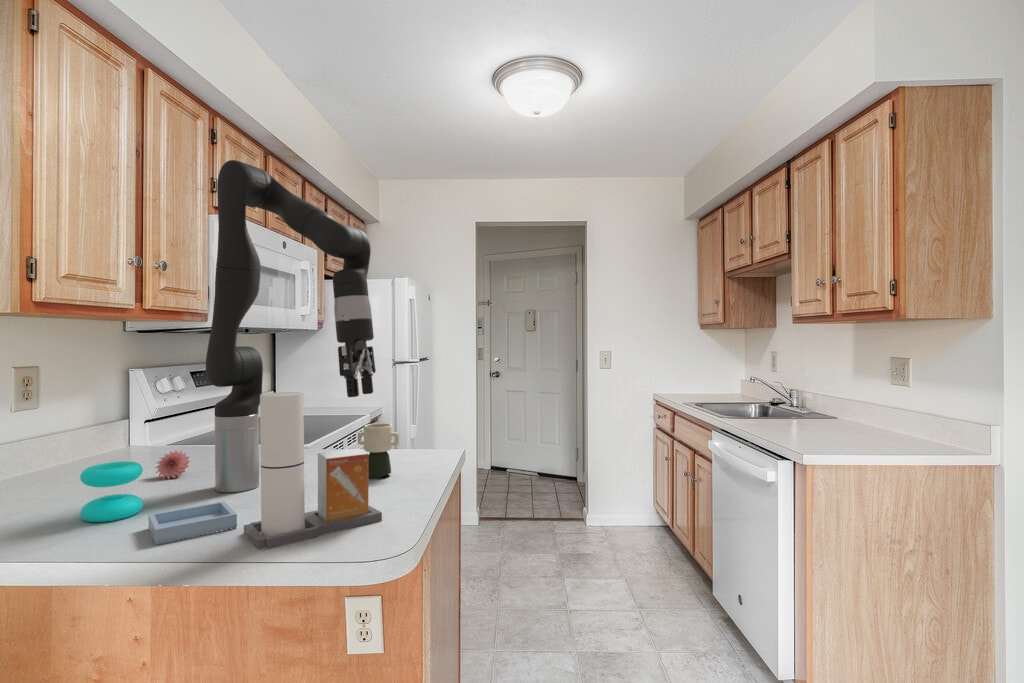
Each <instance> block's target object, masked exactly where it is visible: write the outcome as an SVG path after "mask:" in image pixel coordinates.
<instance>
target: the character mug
mask: <svg viewBox="0 0 1024 683" xmlns="http://www.w3.org/2000/svg"><path fill="white" fill-rule="evenodd" d="M362 436H363V440H362ZM393 437H395V438H393ZM394 439H395V440H394ZM393 440H394V441H393ZM357 444H358V445H359V446H363V451H364V452H366V453H368V477H370V478H380V477H383V476H385V477H386V476H388V475H391V474H392V467H391V460H390V454H389V452H388V451H390V450H392V448H393V446H399V445H400V435H399V432H397V431H396V432H395V431H394V430H393V424H392V423H387V422H379V423H378V422H377V423H369V424H365V425H363V431H358V432H357Z"/></svg>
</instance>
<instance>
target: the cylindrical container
mask: <svg viewBox="0 0 1024 683" xmlns="http://www.w3.org/2000/svg"><path fill="white" fill-rule="evenodd" d="M304 397H305V396H304V392H301V391H284V392H282V391H281V392H267V393H262V394H261V395H260V405H259V413H260V414H259V417H260V418H259V421H260V422H259V423H260V425H259V429H260V430H259V441H260V442H259V443H260V517H261V518H260V521H261V531H260V533H261V534H262V535H263V536H264V537H265V538H266V537H270V536H275V535H279V534H284V533H288V532H293V531H297V530H302V529H306V527H305V513H306V512H305V510H306V509H305V508H306V507H305V427H304V426H305V421H304V420H305V418H304V416H305V411H304V410H305V407H304V406H305V405H304V402H305V401H304Z"/></svg>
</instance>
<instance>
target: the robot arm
mask: <svg viewBox="0 0 1024 683" xmlns="http://www.w3.org/2000/svg"><path fill="white" fill-rule="evenodd" d="M217 176H218V178H217V184H216V192H217V195H216V196H217V217H218V219H217V220H218V229H217V230H218V232H217V254H216V255H217V257H216V265H215V278H214V298H213V299H214V300H213V311H212V321H211V328H210V332H209V333H210V334H209V340H208V344H207V351H206V356H205V373H206V376H207V379H208V381H209V383H210V384H211V385H213V386H214V387H217V388H220V387H222V388H223V387H224V388H225V387H231V391H230V393H229V394H228V395H227V396H226V397H224V398H223V399H222V400H221V399H220V401H218V402H217V403H215V406H214V465H215V467H214V469H215V471H214V474H215V476H214V479H215V480H214V481H215V483H214V484H215V485H214V488H215V492H218V493H219V492H220V493H239V492H245V491H249V490H252V489H256V488H257V487H259V485H260V442H259V441H260V430H259V429H260V425H259V423H260V422H259V421H260V418H259V417H260V416H259V410H260V395H261V394H263V378H264V377H263V376H264V375H263V374H264V367H263V358H262V355H261V354H260V352H259V350H257V348H255V347H253V346H247V345H246V346H245V345H243V346H237V339H238V338H237V337H238V333H239V328H240V325H241V323H242V321H243V319H244V317H245V316H246V314H247V313H248V312H249V310H250V309H251V307H252V305H253V304H254V303H255V301H256V299H257V297H258V294H259V290H260V283H261V282H260V281H261V268H262V267H261V260H260V258H259V254H258V252H257V250H256V247H255V245H254V243H253V241H252V239H251V236H250V234H249V231H248V227H247V220H246V218H247V216H246V214H247V211H246V209H247V208H246V207H250V208H257V209H262V210H264V211H268V212H270V213H273V214H275V215H277V216H278V217H279V218H281V219H282V221H284V223H285V224H286V226H288V228H290V229H291V230H293V231H294V232H296V233H298V234H300V235H301V236H302V237H304V238H306V239H308V240H309V241H311V242H312V243H313V244H314V245H315V246H316V247H317V248H318V249H319V250H320V251H322V252H323V253H326V254H327V255H328V256H330V257H333V258H338V259H341V260H343V265H342V269H340V270H336V271H335V272H334V273H333V275H332V288H333V298H334V299H333V300H334V303H333V304H334V306H333V307H334V308H333V311H334V312H333V313H334V322H335V331H336V332H335V333H336V341H337V343H339V344H344V345H340V346H338V348H337V353H338V368H339V376H340V377H343V378H344V380H345V384H346V394H347V397H348V398H356V397H359V396H360V390H359V389H360V388H359V380H358V379H359V378H358V374H359V375H360V377H361V378H360V380H361V383H360V384H361V391H362V392H361V393H362V394H363V395H370V394H373V393H374V386H373V376H374V373H375V374H376V371H377V370H376V363H375V355H374V347H373V346H372V345H370V346H368V345H367V341H368V342H369V341H372V340H374V326H373V316H372V314H373V313H372V307H371V302H370V298H369V288H368V280H367V279H368V278H367V277H368V272H369V267H370V259H371V251H372V250H371V248H372V247H371V242H370V239H369V237H368V235H367V233H365V231H363V230H362V229H360V228H358V227H357V228H356V227H353V226H350V225H346V224H343V223H341V222H338V221H336V220H334V218H333V216H331V215H330V214H329V213H328V212H327V211H325V210H323V209H321V208H320V207H317V206H316V205H314V204H313V203H310V202H308V201H306V200H304V199H302V198H301V197H299V196H298V195H296V194H294V193H292V192H291V191H290V190H289V189H287V188H286V187H285V186H283V184H281V183H280V182H279V181H278V180H277V179H276V178H275V177H273V176H272V175H271V174H270V173H268V172H267V171H265V170H264V169H261V168H259V167H257V166H254V165H251V164H249V163H246V162H242V161H240V160H235V159H231V160H227V161H226V162H224V164H223V165H222V166H221V167H220V169H219V173H218V175H217Z"/></svg>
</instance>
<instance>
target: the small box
mask: <svg viewBox="0 0 1024 683" xmlns="http://www.w3.org/2000/svg"><path fill="white" fill-rule="evenodd" d="M368 455H369V452H367V451H365V450H362V449H361V448H359V447H358V448H352V449H341V450H340V449H339V450H333V451H326V452H318V453H317V510H318V517H319V518H321V519H322V520H324V521H325V522H326V523H327V522H332V521H336V520H341V519H345V518H350V517H354V516H359V515H364V514H368V505H369V476H368Z"/></svg>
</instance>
